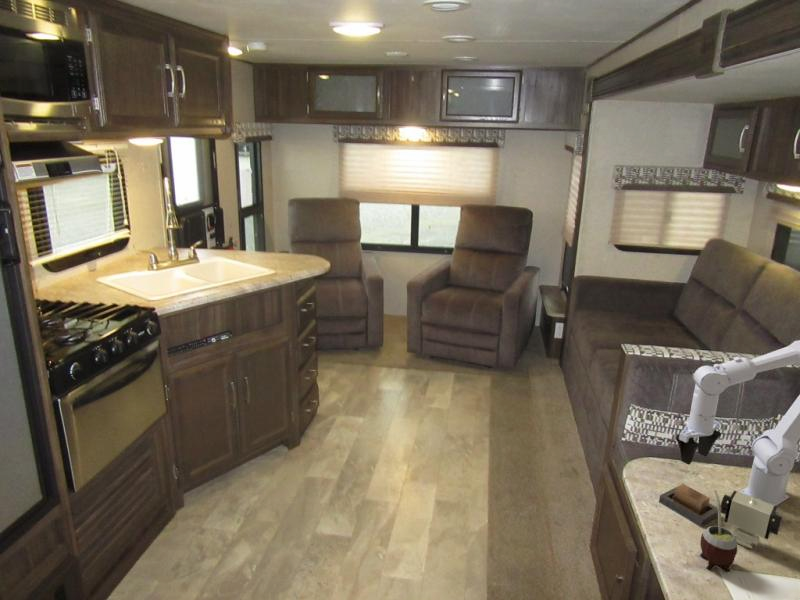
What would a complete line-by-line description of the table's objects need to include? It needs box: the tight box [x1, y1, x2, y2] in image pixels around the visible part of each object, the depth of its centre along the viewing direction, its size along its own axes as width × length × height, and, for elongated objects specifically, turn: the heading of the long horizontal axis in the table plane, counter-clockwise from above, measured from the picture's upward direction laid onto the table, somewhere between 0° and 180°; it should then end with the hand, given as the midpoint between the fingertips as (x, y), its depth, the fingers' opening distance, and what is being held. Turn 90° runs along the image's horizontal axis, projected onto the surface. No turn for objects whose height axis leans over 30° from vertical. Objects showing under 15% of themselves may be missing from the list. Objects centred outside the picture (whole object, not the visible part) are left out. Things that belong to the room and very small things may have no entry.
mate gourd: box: [699, 490, 738, 573], centre depth 125 cm, size 8×8×15 cm
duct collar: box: [658, 487, 718, 528], centre depth 145 cm, size 8×11×2 cm
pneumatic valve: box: [720, 490, 784, 549], centre depth 132 cm, size 6×12×12 cm, turn 48°
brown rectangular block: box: [673, 483, 710, 516], centre depth 145 cm, size 7×4×5 cm, turn 33°
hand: (694, 458), depth 151 cm, fingers open, 7 cm apart
